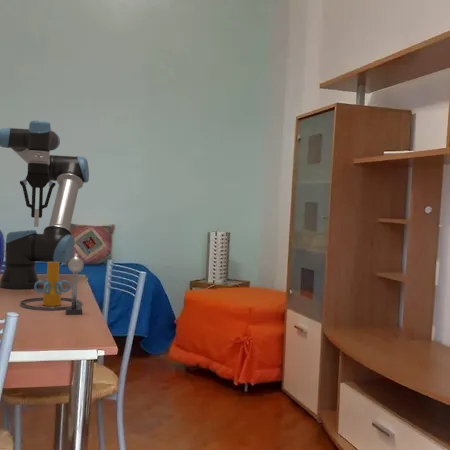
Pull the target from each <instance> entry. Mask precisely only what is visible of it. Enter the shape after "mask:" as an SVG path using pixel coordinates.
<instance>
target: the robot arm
mask: <svg viewBox="0 0 450 450" xmlns="http://www.w3.org/2000/svg"><path fill="white" fill-rule="evenodd" d="M28 125H29V126H28V128H15V127H3V128H0V147H1V148H6V149H7V148H8V149H11V150H12V151H13V152H15V154H16V155H18V156H19V158H20V159H22V160H23V161H24V162H25V163H27V174H26V176H25V178H24V179H23V180H20V181H19V184H20V187H22V191H23V196H24V201H25V205H26V207H27V208H30V210H31V214H30V216H31V218H34V219H33V221H34V222H33V227H34V228H35V227H36V228H38V227H39V221H40V220H39V219H41V218H43V209H46V208H48V207H49V206H48V205H49V202H50V199H51V196H52V192H53V189H54V187H56V185H58V188H57V192H56V196H55V200H54V204H53V208H52V212H51V215H50V219H49V223H48V225H47V226H46V227H44V229H43V231H42V232H43V233H38V232H37V230H36V229H29V230H18V231H10V232H8V233H7V234H6V238H5V255H4V256H5V259H4V261H5V265H4V266H5V267H4V269H3V272H2V275H1V278H0V288H3V289H12V290H15V289H16V290H17V289H18V290H23V289H26V290H27V289H34V285H35V283H36V282H37V281H40V280H39V276H38V274H37V270H36V263H37V262H38V263H47V262H59V264H65V263H68V262H69V260H70V259H72V258H73V257H72V256H73V255H74V250H75V244H76V243H75V242H76V241H75V237H74V236H73V233H72V232H71V230H70V229H71V225H72V220H73V215H74V211H75V206H76V201H77V197H78V193H79V190H81V189H82V187H83V186H84V183H85V184H86V183H88V182H89V181H90V174H89V173H90V170H89V163H88V160H87V158H86V157H84V156H78V155H76V156H71V155H58V154H56V155H53V154H51V153H50V152H51V151H55V150H56V149H58V148H59V146H60V144H61V140H60V136H59V135H58V134H57V133H56V132H55V131H53V130H52V127H51V123H50V122H49V121H47V120H46V121H45V120H37V119H35V120H30V122H29V124H28ZM27 183H28V184H29V187H31V189H32V190H31V203H30V198H29V194H28V189H27V185H28V184H27ZM56 183H57V184H56ZM47 185H48V186H49V188H48V192H47V195H46V196H45V197H46V198H45V201H44V200H43V199H44V194H43V193H44V188H45V187H46V186H47ZM36 189H39V191H38V193H39V199H38V208H36ZM43 201H44V203H43ZM39 286H40V283H38V284H37V288H39Z"/></svg>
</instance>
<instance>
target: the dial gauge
mask: <svg viewBox="0 0 450 450" xmlns="http://www.w3.org/2000/svg"><path fill="white" fill-rule="evenodd" d="M72 256H73V257H71V259H70V260H69V261H68V262H67V267H68V269H69V271H70V272H71V273H72V281H71V282H72V283H71V285H72V287H71V290H72V291H71V298H72V301H71V306H72V307H66V306H65V307H66V310H65V315H67V316H68V315H83V307H82V306H80V307H77V304H78V303H77V300H78V282H79V281H78V280H79V278H78V277H79V273H80V272H82V271H83V270H84V268H85V263H84V260H83V259H82V258H80V255H79V253H73V255H72Z"/></svg>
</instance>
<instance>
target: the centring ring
mask: <svg viewBox="0 0 450 450" xmlns="http://www.w3.org/2000/svg"><path fill="white" fill-rule="evenodd" d="M37 301H38V302H39V301H40V302H41V301H43V296H41V297H34V298H27V299H26V298H25V299H24V300H20V301H18V302H19V305H20V307H22V308H23V309H28V310H33V311H35V310H36V311H66V307H72V305H68V306H45V307H44V306H34V305H29V304H27V303H31V302H37ZM61 301H65V302H66V301H67V302H72V297H61ZM83 303H84V301H83V300H79V299H77V307H82V305H83Z"/></svg>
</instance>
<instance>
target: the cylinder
mask: <svg viewBox="0 0 450 450" xmlns="http://www.w3.org/2000/svg"><path fill="white" fill-rule="evenodd" d="M46 263H47V265H46V266H47V267H46V278H45V279H44V280H39V281H37V282H36V283H35V285H34V288H33V289H34V290H35V292H37V293H39V294H40V293H43V296H42V297H43V300H42V305H43V306H45V307H60V306H61V305H62V300H61V298H62V293H67V292H69V291H70V290H71V288H72V287H71V285H72V284H71V283H70V281H68V280H66V279H63V280H61V279H60V263H59V262H46ZM38 283H39V284H40V283H41V284H43V285H42V286H43V288H42V289H41V290H40V289H38V287H37V284H38ZM64 283H66V284H67V285H68V287H67V288H66V289H63V288H64V287H63V284H64Z"/></svg>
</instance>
